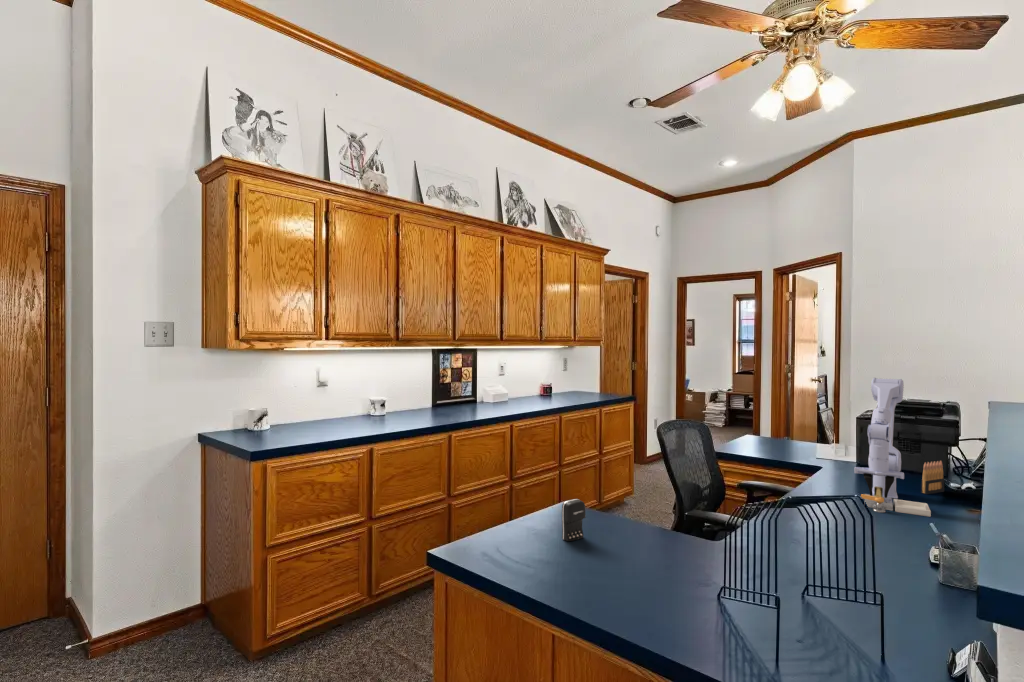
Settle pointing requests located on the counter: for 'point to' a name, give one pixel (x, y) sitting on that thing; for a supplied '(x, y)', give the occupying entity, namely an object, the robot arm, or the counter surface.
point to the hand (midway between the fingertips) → (878, 495)
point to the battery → (572, 519)
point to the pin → (878, 491)
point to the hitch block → (880, 504)
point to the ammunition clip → (932, 478)
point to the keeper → (872, 498)
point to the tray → (912, 507)
